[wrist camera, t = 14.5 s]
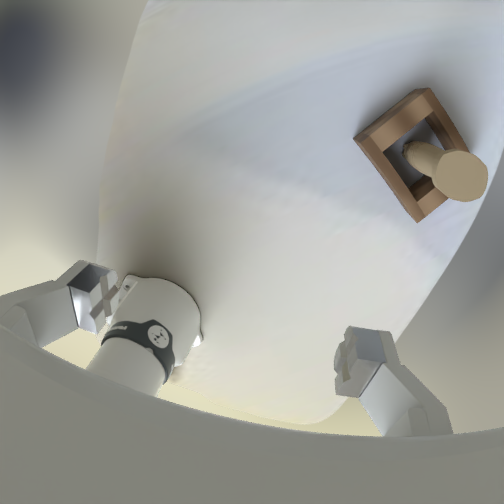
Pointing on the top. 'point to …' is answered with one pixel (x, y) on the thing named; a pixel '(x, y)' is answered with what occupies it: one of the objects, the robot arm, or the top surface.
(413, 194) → the frame
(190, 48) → the top surface
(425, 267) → the top surface
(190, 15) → the top surface
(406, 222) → the top surface
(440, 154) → the handle
